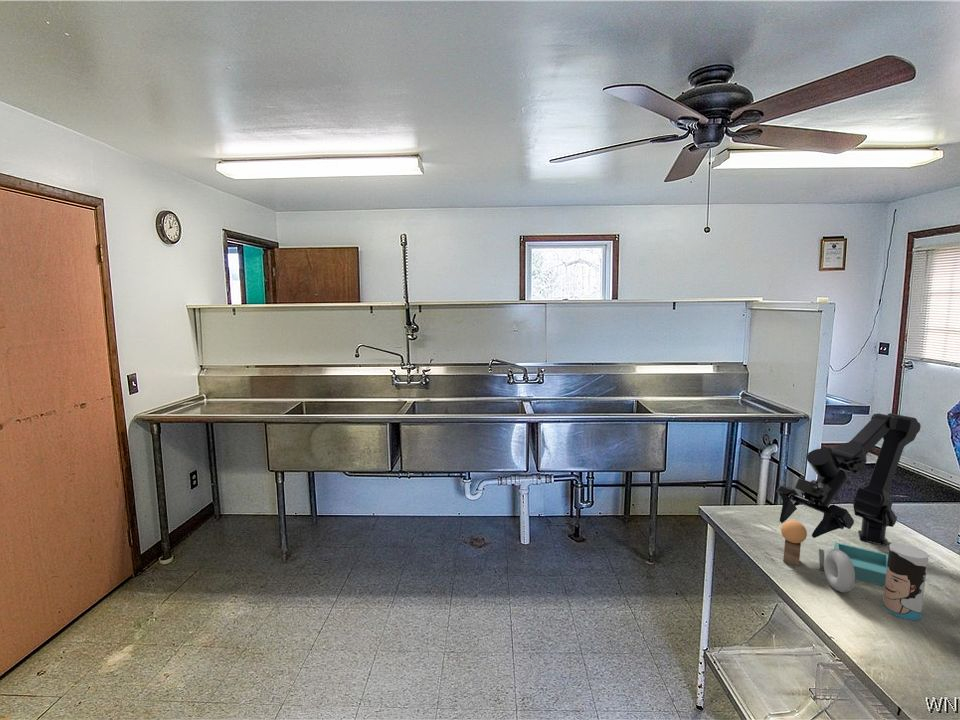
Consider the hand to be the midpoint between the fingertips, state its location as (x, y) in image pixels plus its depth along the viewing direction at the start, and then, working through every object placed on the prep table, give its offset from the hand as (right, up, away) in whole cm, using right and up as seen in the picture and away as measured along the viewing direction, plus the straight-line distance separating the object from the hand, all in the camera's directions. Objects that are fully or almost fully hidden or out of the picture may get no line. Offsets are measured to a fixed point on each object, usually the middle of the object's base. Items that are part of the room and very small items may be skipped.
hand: (796, 529), depth 132 cm
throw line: (+8, -9, +1) cm, 12 cm away
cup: (+11, -12, -21) cm, 26 cm away
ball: (-1, -1, 0) cm, 1 cm away
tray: (+16, -10, -3) cm, 19 cm away
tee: (-1, -9, +1) cm, 9 cm away
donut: (+2, -11, -12) cm, 17 cm away
